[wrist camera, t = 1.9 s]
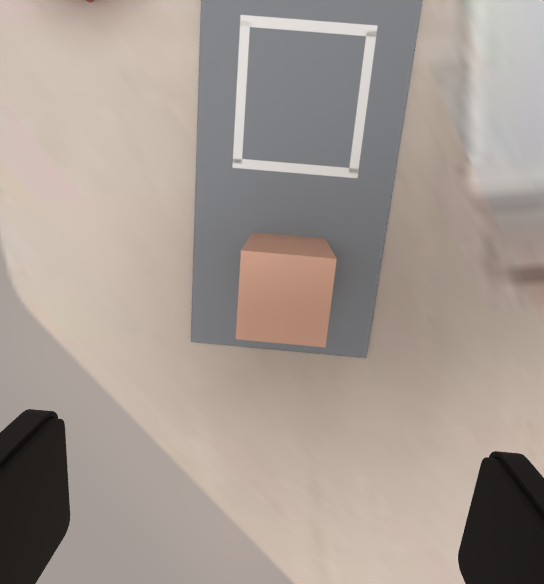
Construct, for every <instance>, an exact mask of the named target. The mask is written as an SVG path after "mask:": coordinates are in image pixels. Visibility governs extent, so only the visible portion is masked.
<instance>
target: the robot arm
mask: <svg viewBox="0 0 544 584" xmlns="http://www.w3.org/2000/svg"><path fill="white" fill-rule="evenodd" d="M69 522H70V506H69V489H68V473H67V456H66V438H65V425H64V421H63V420H62V419H58V416H57V414H56V413H55V412H54V411H43V410H32V409H29V410H26V411H24V412H23V413H22V414H20V415H19V416H18V417H17V418H16V419H15V420H14V421H13V422H12V423H10V424H9V425H8V426H7V427H6V428H5V429H4V430H3V431H2V432H1V433H0V584H35V583H36V582H37V580H38V578H39V577H40V575H41V574H42V572H43V570H44V569H45V567H46V565H47V564H48V562H49V561H50V559H51V557H52V556H53V554H54V552H55V551H56V549H57V548H58V546H59V544H60V543H61V541H62V539H63V537H64V536H65V534H66V532H67V529H68V526H69ZM458 562H459V568H460V571H461V574H462V576H463V578H464V581H465V583H466V584H544V478H543V477H542V475H541V474H540V473H539V472H538V471H537V470H536V468H535V467H534V466H533V465H532V464H531V463H530V461H529V460H528V459H527V458H526V457H525V456H524V455H522V454H518V453H507V452H496V451H495V452H492V453H491V454H490V456H489V458H487V457H486V458H484V459H483V460H482V463H481V466H480V470H479V474H478V478H477V482H476V486H475V490H474V494H473V498H472V502H471V506H470V510H469V513H468V517H467V521H466V525H465V529H464V533H463V537H462V541H461V545H460V549H459V554H458Z"/></svg>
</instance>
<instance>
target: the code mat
mask: <svg viewBox="0 0 544 584" xmlns="http://www.w3.org/2000/svg"><path fill="white" fill-rule="evenodd" d="M421 6H422V0H201V21H200V54H199V88H198V121H197V154H196V187H195V220H194V254H193V287H192V320H191V342H197V343H208V344H219V345H230V346H241V347H252V348H262V349H273V350H284V351H295V352H306V353H317V354H328V355H339V356H350V357H361V358H366V357H367V351H368V344H369V338H370V332H371V325H372V319H373V313H374V306H375V300H376V293H377V287H378V281H379V274H380V268H381V262H382V255H383V249H384V242H385V236H386V230H387V223H388V217H389V211H390V204H391V198H392V191H393V185H394V179H395V172H396V166H397V159H398V153H399V147H400V140H401V134H402V128H403V121H404V115H405V108H406V102H407V96H408V89H409V83H410V77H411V70H412V64H413V57H414V51H415V45H416V38H417V32H418V26H419V19H420V13H421ZM252 232H256V233H268V234H279V235H291V236H302V237H314V238H325V239H326V240H327V242H328V244H329V246H330V248H331V249H332V251H333V253H334V255H335V257H336V258H337V260H336V268H335V276H334V284H333V292H332V300H331V308H330V316H329V324H328V332H327V340H326V347H315V346H304V345H293V344H282V343H271V342H261V341H250V340H239V339H236V324H237V308H238V292H239V275H240V259H241V250H242V248H243V246H244V245H245V243H246V242H247V240H248V238H249V237H250V235H251V234H252Z"/></svg>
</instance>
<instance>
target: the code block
mask: <svg viewBox="0 0 544 584" xmlns="http://www.w3.org/2000/svg"><path fill="white" fill-rule="evenodd" d="M336 260H337V258H336V257H335V255H334V253H333V251H332V249H331V248H330V246H329V244H328V242H327V240H326V239H325V238H314V237H302V236H291V235H279V234H268V233H256V232H252V234H251V235H250V237H249V238H248V240H247V242H246V243H245V245H244V246H243V248H242V250H241V259H240V275H239V292H238V308H237V324H236V339H239V340H250V341H261V342H271V343H282V344H293V345H304V346H315V347H326V340H327V332H328V324H329V316H330V308H331V300H332V292H333V284H334V276H335V268H336Z"/></svg>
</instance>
